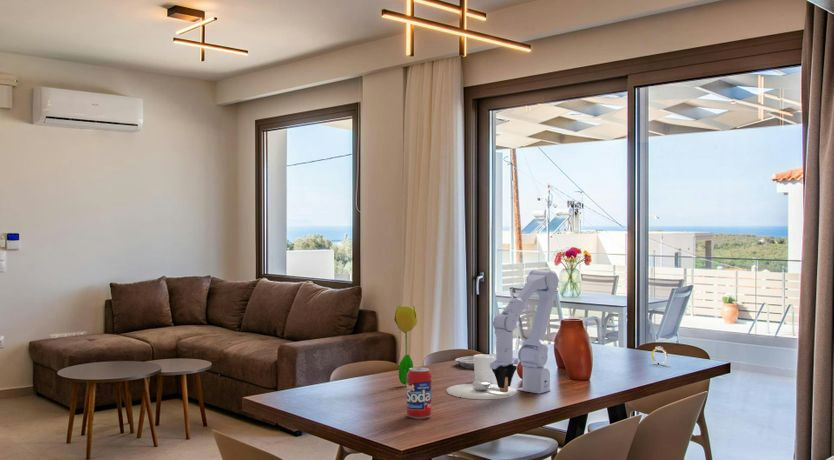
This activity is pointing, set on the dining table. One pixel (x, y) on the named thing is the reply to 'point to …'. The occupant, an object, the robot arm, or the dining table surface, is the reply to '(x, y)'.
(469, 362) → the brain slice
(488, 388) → the white and tan pieces
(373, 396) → the dining table surface
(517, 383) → the dining table surface
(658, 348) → the ring
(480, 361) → the white cup
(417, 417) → the soda can
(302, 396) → the dining table surface
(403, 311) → the flower
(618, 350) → the dining table surface
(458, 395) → the white plate
